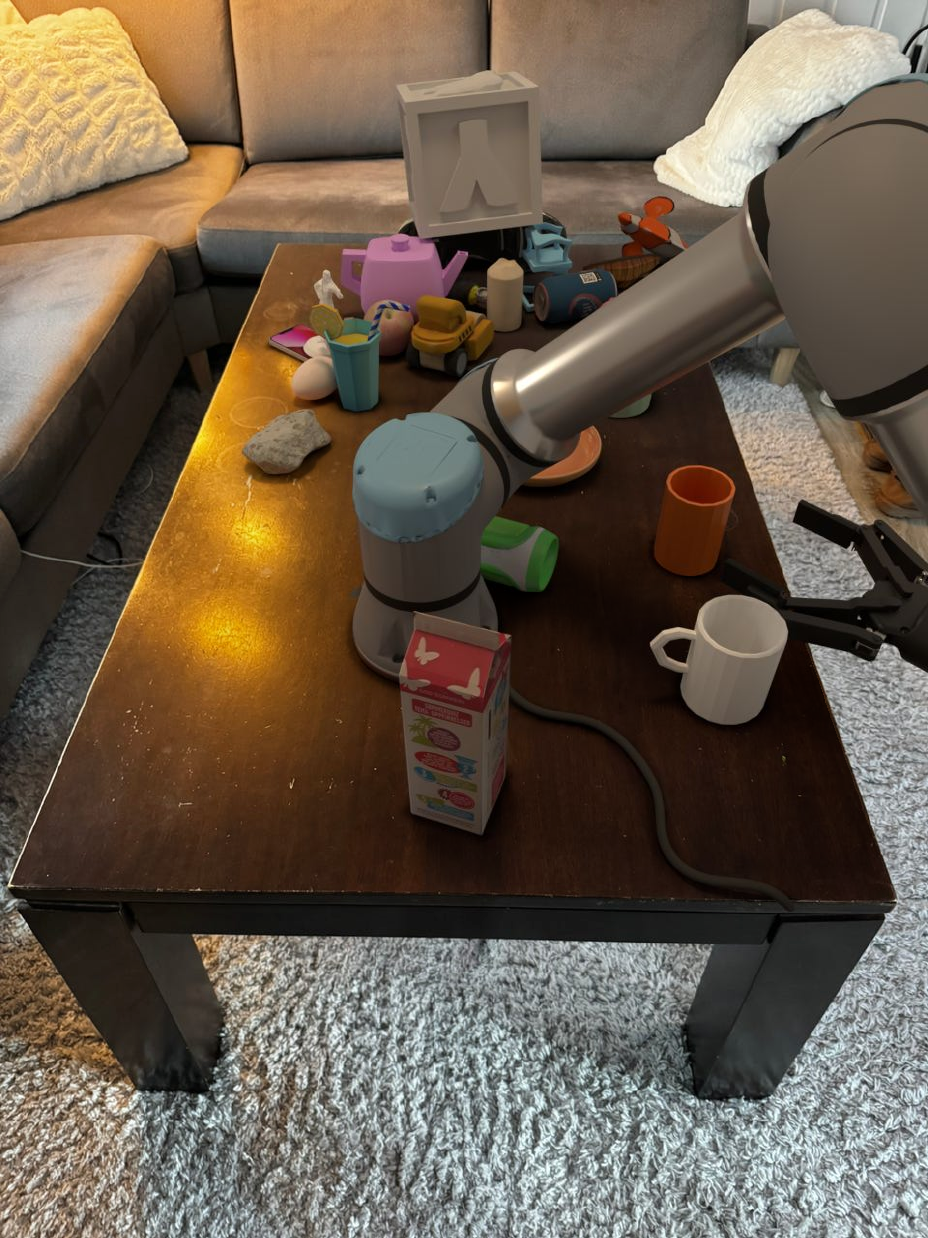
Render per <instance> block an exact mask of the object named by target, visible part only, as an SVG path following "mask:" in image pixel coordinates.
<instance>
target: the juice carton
mask: <svg viewBox="0 0 928 1238" xmlns="http://www.w3.org/2000/svg"><path fill="white" fill-rule="evenodd" d="M414 612H415V611H414ZM414 612H413V622H414V631H413V634H412V637H411V640H410V643H409V646H408V649H407V652H406V655H405V658H404V660H403V663H402V667H401V670H400V674H399V682H398V683H399V692H400V702H401V703H400V704H401V713H402V725H403V735H404V747H405V760H406V761H405V762H406V771H407V773H406V774H407V783H408V794H409V806H410V813H411V814H412V815H414V816H415V815H416V816H419V817H421V818H424V819H427V820H432V821H434V822H438V823H441V824H444V825H448V826H451V827H454V828H457V829H460V830H463V831H467V832H470V833H473V834H476V835H479V836H483V834H484V831H485V828H486V826H487V823H488V822H489V821H488V820H489V818H490V815H491V814H492V811H493V808H494V805H495V803H496V801H497V798H498V795H499V794H500V791H501V788H502V786H503V784H504V780H505V778H506V770H507V751H508V750H507V749H508V730H509V729H508V727H509V725H508V724H509V706H510V705H509V703H510V702H509V701H510V697H509V684H510V683H511V682H510V681H511V660H512V659H511V657H512V637H513V636H512V635H511V634H508V633H504V632H499V631H498V632H496V631H492V630H488V629H484V628H480V627H476V626H472V625H468V624H464V623H460V622H456V621H452V620H448V619H444V618H440V617H436V616H432V615H427V614H423V613H419V612H415V614H414Z"/></svg>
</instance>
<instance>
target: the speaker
mask: <svg viewBox="0 0 928 1238" xmlns="http://www.w3.org/2000/svg"><path fill="white" fill-rule="evenodd" d="M559 545H560V543H559V538H558V536H557V535H556V534H554V533H553V532H551V531H549V530H547V529H545V528H543V527H541V526H538V525H536V526H535V525H534V526H530V525H529V524H526V523H523V522H519V521H516V520H512V519H507V518H504V517H499V516H497V515H496V516H495V517H494V518H493V519H492V521H491V522H490V523H489V524H488V525H487V527H486V528H485V530H484V532H483V535H482V538H481V575H482V577H483V579H484V580H487V581H491V582H493V583H498V584H501V585H505V586H508V587H514V588H516V589H517V590H519V591H521V592H527V593H528V592H530V593H541V592H542V591H545V589H546V588H547V586H548V584H549V582H550V580H551V578H552V575H553V573H554V570H555V567H556V564H557V559H558V555H559V554H558V553H559V548H560V547H559Z"/></svg>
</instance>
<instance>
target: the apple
mask: <svg viewBox="0 0 928 1238" xmlns="http://www.w3.org/2000/svg"><path fill="white" fill-rule="evenodd" d="M385 301H388V302H393V303H398V304H401V303H399V302H396V301H392V300H382V301H379V302H377V303H375V304H374V305H372V306H371V307H370V308H369V309H368V310H367V312H366V314H365V313H364V315H363V316H364V317H363V320H366V321H370V322H373V320H374V317H375V314H376V310H377V307H378V306H379V305H380V304H382V303H383V302H385ZM402 305H403V304H402ZM414 326H415V323H414V320H413V317H412V314H411V312H410V311H408V312H405V311H399V310H394V309H389V308H385V309H384V310H383V312H382V316H381V319H380V322H379V325H378V329H379V330H380V332H381V340H380V341H379V356H382V357H391V356H392V357H394V356H398V355H399V354H402V352H403V351H405V350H406V349H407V348H408V345H409V342H410V341H411V340H412V337H411V333H412V330H413V327H414Z"/></svg>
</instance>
